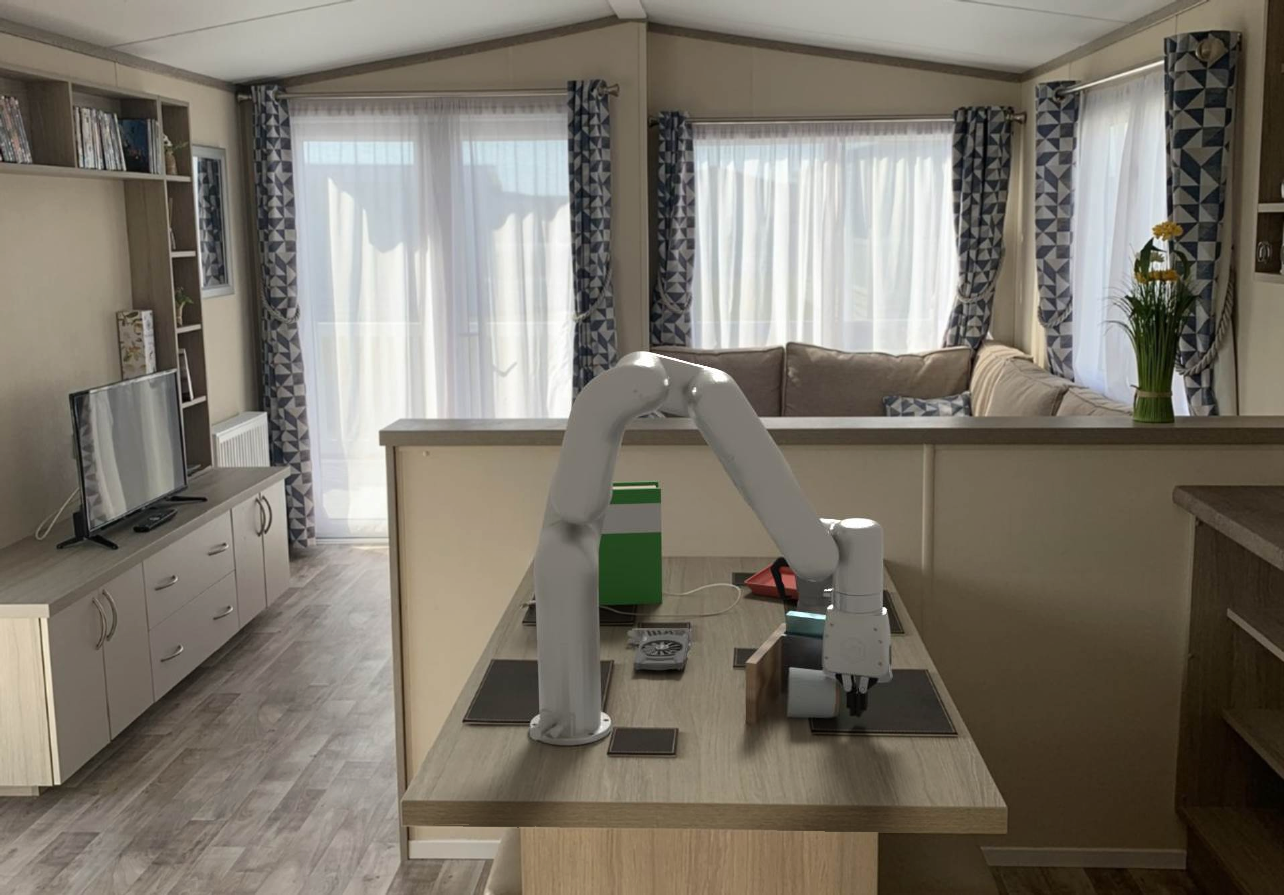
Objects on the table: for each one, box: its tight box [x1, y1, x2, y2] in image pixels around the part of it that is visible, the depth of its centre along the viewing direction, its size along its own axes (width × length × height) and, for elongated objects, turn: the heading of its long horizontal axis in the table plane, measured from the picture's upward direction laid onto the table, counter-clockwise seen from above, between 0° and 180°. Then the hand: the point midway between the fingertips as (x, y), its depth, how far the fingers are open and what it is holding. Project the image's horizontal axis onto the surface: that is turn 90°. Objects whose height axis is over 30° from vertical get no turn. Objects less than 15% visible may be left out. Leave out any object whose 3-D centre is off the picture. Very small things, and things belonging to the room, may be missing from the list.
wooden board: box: [745, 622, 786, 726], centre depth 201 cm, size 20×2×10 cm, turn 157°
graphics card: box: [627, 627, 693, 671], centre depth 222 cm, size 17×4×12 cm
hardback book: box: [598, 480, 663, 606], centre depth 254 cm, size 18×7×24 cm, turn 94°
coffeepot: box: [770, 556, 833, 615], centre depth 231 cm, size 15×9×18 cm, turn 99°
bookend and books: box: [781, 610, 826, 695], centre depth 205 cm, size 6×8×13 cm
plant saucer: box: [744, 562, 799, 601], centre depth 262 cm, size 18×18×3 cm
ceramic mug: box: [786, 667, 841, 719], centre depth 197 cm, size 11×8×8 cm
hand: (857, 713), depth 192 cm, fingers closed
